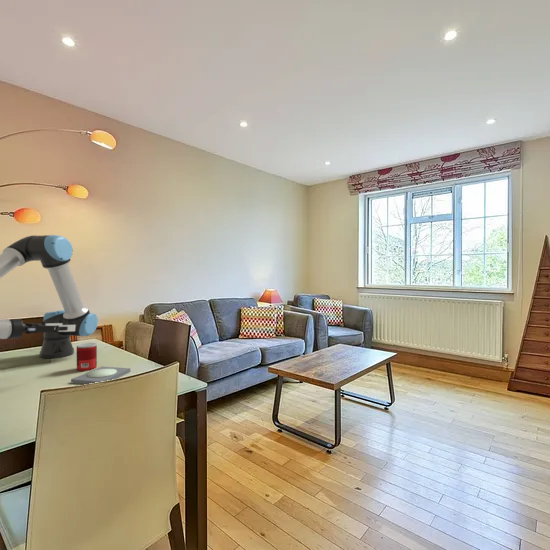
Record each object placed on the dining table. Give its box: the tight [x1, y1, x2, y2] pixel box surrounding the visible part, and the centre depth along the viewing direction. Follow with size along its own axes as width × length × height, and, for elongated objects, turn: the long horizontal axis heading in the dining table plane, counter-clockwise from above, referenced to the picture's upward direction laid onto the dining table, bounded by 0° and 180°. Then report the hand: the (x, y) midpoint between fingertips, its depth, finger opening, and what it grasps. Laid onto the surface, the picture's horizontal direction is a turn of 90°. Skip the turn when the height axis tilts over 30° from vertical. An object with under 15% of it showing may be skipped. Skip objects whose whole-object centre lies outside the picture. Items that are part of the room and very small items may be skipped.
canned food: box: [76, 342, 98, 372], centre depth 154 cm, size 8×8×11 cm
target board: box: [70, 365, 131, 385], centre depth 142 cm, size 18×14×2 cm
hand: (68, 327), depth 148 cm, fingers open, 13 cm apart
